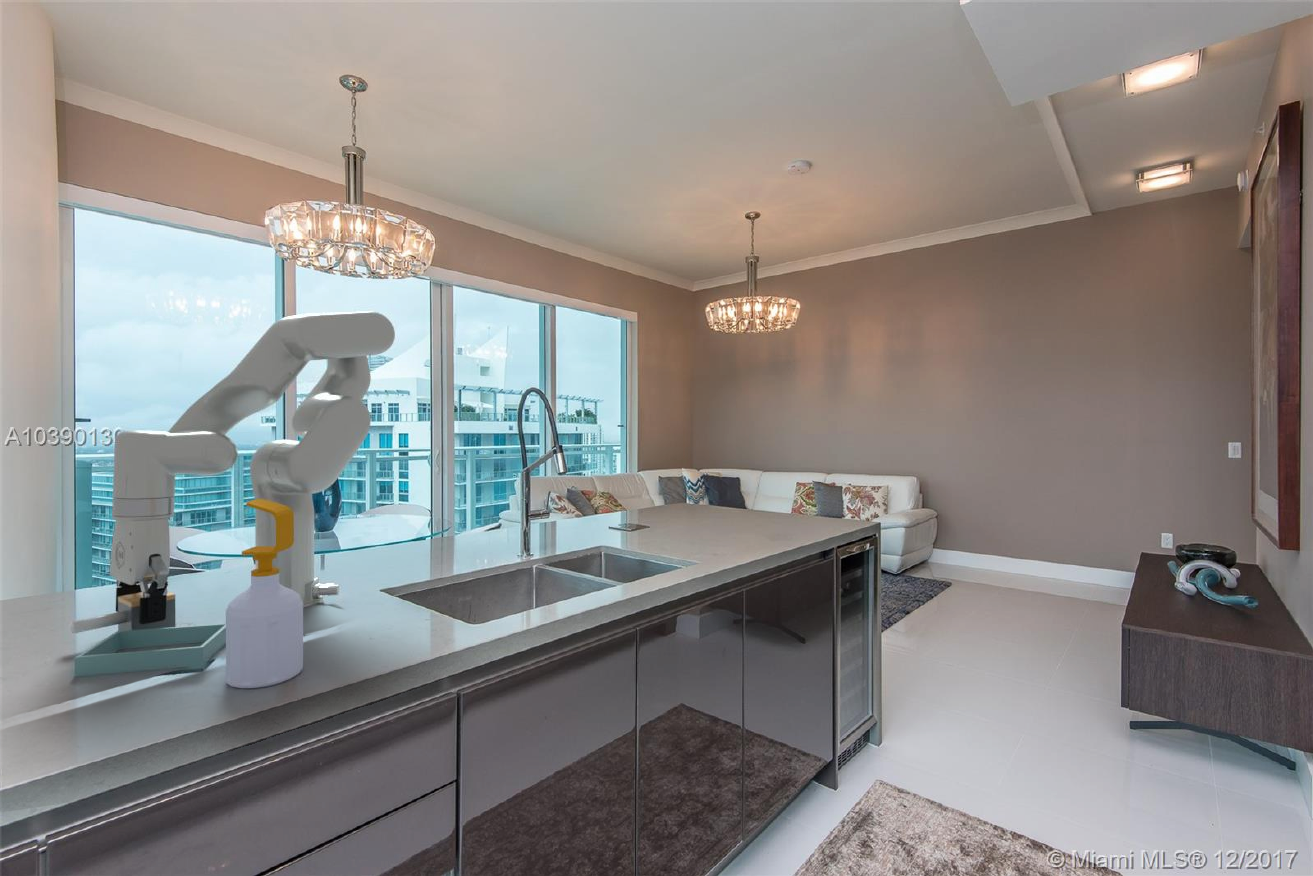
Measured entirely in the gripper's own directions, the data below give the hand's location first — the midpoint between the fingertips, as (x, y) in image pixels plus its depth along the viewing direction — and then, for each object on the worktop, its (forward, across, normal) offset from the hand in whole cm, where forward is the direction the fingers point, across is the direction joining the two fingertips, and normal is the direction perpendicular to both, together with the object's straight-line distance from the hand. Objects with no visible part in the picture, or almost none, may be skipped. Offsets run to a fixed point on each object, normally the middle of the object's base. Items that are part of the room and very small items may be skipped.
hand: (140, 616), depth 97 cm
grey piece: (+4, 0, +1) cm, 4 cm away
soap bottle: (+4, +29, +5) cm, 30 cm away
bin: (+4, +12, -2) cm, 13 cm away
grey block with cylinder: (+3, 0, -2) cm, 4 cm away
